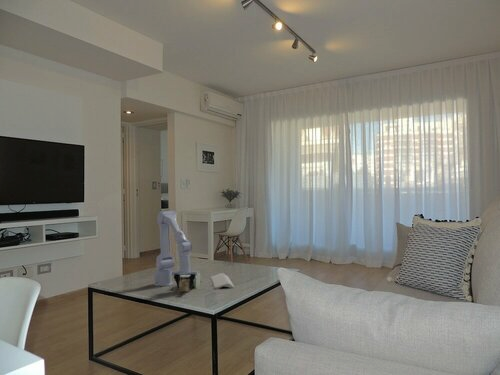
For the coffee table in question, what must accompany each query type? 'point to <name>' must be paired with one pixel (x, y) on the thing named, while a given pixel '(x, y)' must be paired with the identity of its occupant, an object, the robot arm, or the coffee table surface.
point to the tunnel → (196, 279)
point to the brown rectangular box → (185, 285)
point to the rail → (181, 294)
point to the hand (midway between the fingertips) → (184, 288)
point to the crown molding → (221, 281)
